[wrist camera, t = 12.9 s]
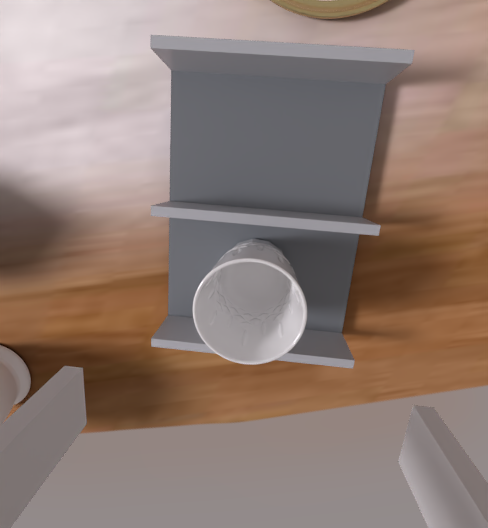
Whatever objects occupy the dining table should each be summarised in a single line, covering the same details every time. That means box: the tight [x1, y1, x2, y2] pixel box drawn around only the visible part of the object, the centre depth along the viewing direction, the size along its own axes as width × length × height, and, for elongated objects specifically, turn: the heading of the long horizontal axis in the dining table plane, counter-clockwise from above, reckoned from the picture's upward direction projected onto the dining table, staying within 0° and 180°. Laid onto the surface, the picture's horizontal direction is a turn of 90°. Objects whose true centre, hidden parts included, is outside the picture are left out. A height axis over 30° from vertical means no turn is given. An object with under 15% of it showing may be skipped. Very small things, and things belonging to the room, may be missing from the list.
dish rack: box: [151, 35, 414, 368], centre depth 28 cm, size 24×18×6 cm
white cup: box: [193, 239, 307, 364], centre depth 27 cm, size 8×8×10 cm
